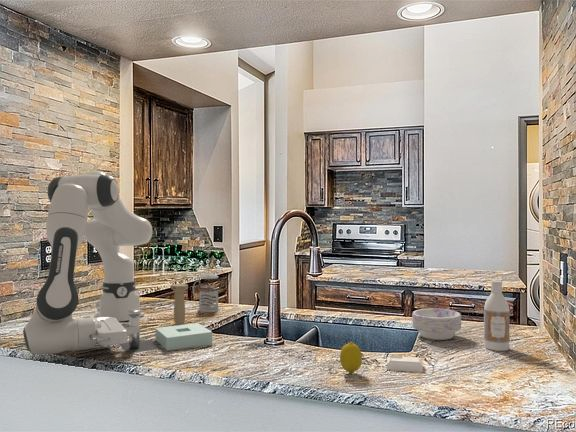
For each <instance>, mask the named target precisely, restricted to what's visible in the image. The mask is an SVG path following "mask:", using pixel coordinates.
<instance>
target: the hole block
mask: <svg viewBox="0 0 576 432" xmlns="http://www.w3.org/2000/svg"><path fill="white" fill-rule="evenodd" d="M154 329H155V334H154V335H155V336H154V337H155V341H156V342H157V343H159V345H160V346H162V347H163V348H164V349H165V350H166V351H173V350H174V351H175V350H180V349H186V348H187V349H188V348H194V347H201V346H213V331H211V330H210V329H208V328H207V327H206V326H204V325H201V324H200V323H199V322H195V323H187V324H185V323H184V325H177V326H175V325H169V326H162V327H155V328H154Z"/></svg>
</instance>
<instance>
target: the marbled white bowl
mask: <svg viewBox="0 0 576 432" xmlns="http://www.w3.org/2000/svg"><path fill="white" fill-rule="evenodd" d="M411 314H412V316H411V317H412V319H411V322H412V328H413V329H415V330H417V331H418V333H419V335H420V336H421V337H422V338H424V339H427V340H433V341H446V340H450V339H452V338H454V336H455V334H456V332H459V331H461V329H462V314H461V313H460V311H459V312H458V311H455V310H453V309H447V308H422V309H421V308H420V309H416V310H414V311H412V313H411Z"/></svg>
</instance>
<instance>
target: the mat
mask: <svg viewBox="0 0 576 432" xmlns="http://www.w3.org/2000/svg"><path fill="white" fill-rule="evenodd" d="M119 346H120V347H121V348H122V350H123V351H124V352H125V353H126V354H132V353H139V352H145V351H152V350H153V351H154V350H161V349H162V348H161V347H160V346H159V345H158V344H157V343H156V342H155V341H154V340H153V339H152V338H151V339H143V340H140V347H138V348H129V341H127V342H126V343H124V344H119Z"/></svg>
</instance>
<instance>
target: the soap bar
mask: <svg viewBox="0 0 576 432" xmlns="http://www.w3.org/2000/svg"><path fill="white" fill-rule="evenodd" d="M386 370H388V371H401V372H402V371H403V372H417V373H418V372H419V373H422V372H424V364H423V360H422V359H421V358H420V357H412V356H411V357H410V356H395V355H394V356H393V355H390V356H389V357H387V359H386Z"/></svg>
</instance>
